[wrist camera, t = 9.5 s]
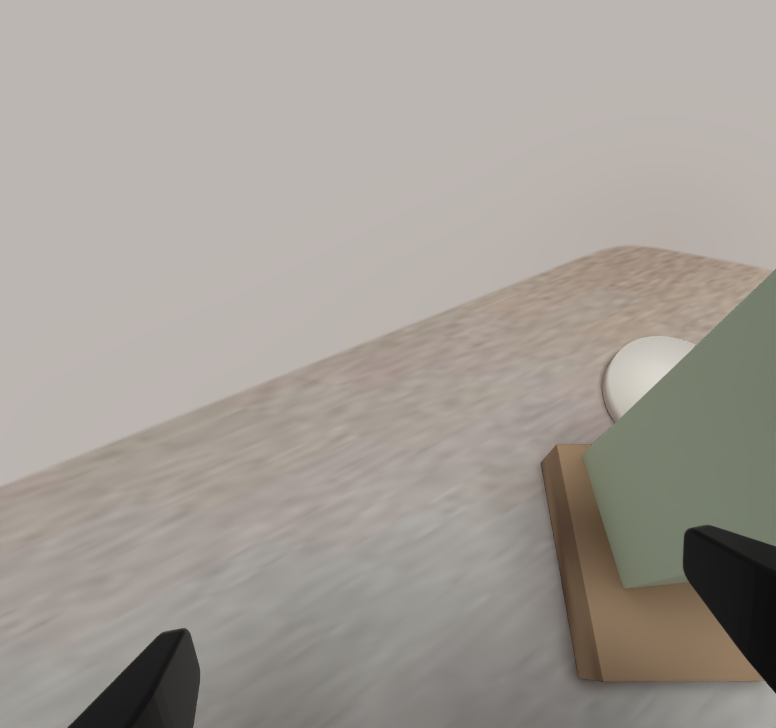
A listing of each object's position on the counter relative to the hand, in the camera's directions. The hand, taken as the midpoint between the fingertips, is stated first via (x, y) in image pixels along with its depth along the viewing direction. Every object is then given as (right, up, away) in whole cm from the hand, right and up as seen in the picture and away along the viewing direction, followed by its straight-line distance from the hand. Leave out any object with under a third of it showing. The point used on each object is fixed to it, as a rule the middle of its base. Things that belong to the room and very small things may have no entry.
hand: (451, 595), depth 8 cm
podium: (+10, -5, +13) cm, 17 cm away
